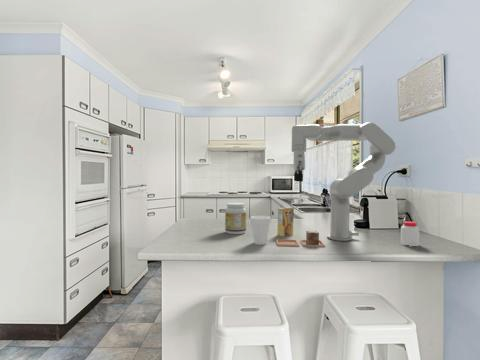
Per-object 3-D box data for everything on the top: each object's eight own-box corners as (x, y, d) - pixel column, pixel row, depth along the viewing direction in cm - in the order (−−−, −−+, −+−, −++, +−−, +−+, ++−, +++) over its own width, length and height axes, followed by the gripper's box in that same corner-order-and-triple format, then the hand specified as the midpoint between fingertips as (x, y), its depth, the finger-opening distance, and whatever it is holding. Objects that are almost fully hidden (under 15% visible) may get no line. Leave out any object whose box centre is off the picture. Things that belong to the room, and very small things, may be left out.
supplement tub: (223, 230, 173) (223, 202, 173) (243, 230, 176) (243, 201, 175) (227, 235, 161) (227, 204, 161) (248, 234, 164) (248, 204, 164)
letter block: (316, 242, 144) (316, 230, 143) (318, 245, 139) (318, 232, 138) (306, 242, 144) (306, 230, 144) (308, 245, 139) (308, 232, 139)
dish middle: (296, 242, 147) (296, 239, 147) (299, 247, 137) (299, 244, 137) (276, 241, 147) (276, 239, 147) (277, 246, 137) (277, 244, 137)
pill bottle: (416, 243, 146) (417, 221, 145) (420, 247, 138) (421, 224, 138) (399, 242, 148) (399, 220, 148) (402, 245, 141) (402, 223, 141)
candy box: (287, 233, 166) (288, 206, 166) (293, 235, 163) (294, 207, 163) (277, 235, 161) (277, 208, 160) (282, 237, 157) (283, 208, 157)
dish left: (320, 242, 146) (320, 240, 146) (325, 247, 136) (325, 245, 136) (300, 242, 146) (300, 239, 146) (303, 247, 137) (303, 244, 136)
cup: (273, 242, 145) (274, 216, 144) (265, 247, 136) (266, 219, 136) (255, 240, 150) (255, 215, 149) (246, 244, 141) (246, 217, 140)
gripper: (308, 147, 146) (308, 181, 147) (303, 150, 163) (302, 180, 164) (293, 147, 147) (293, 181, 147) (289, 150, 164) (289, 180, 164)
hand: (298, 181), depth 156 cm, fingers open, 9 cm apart
